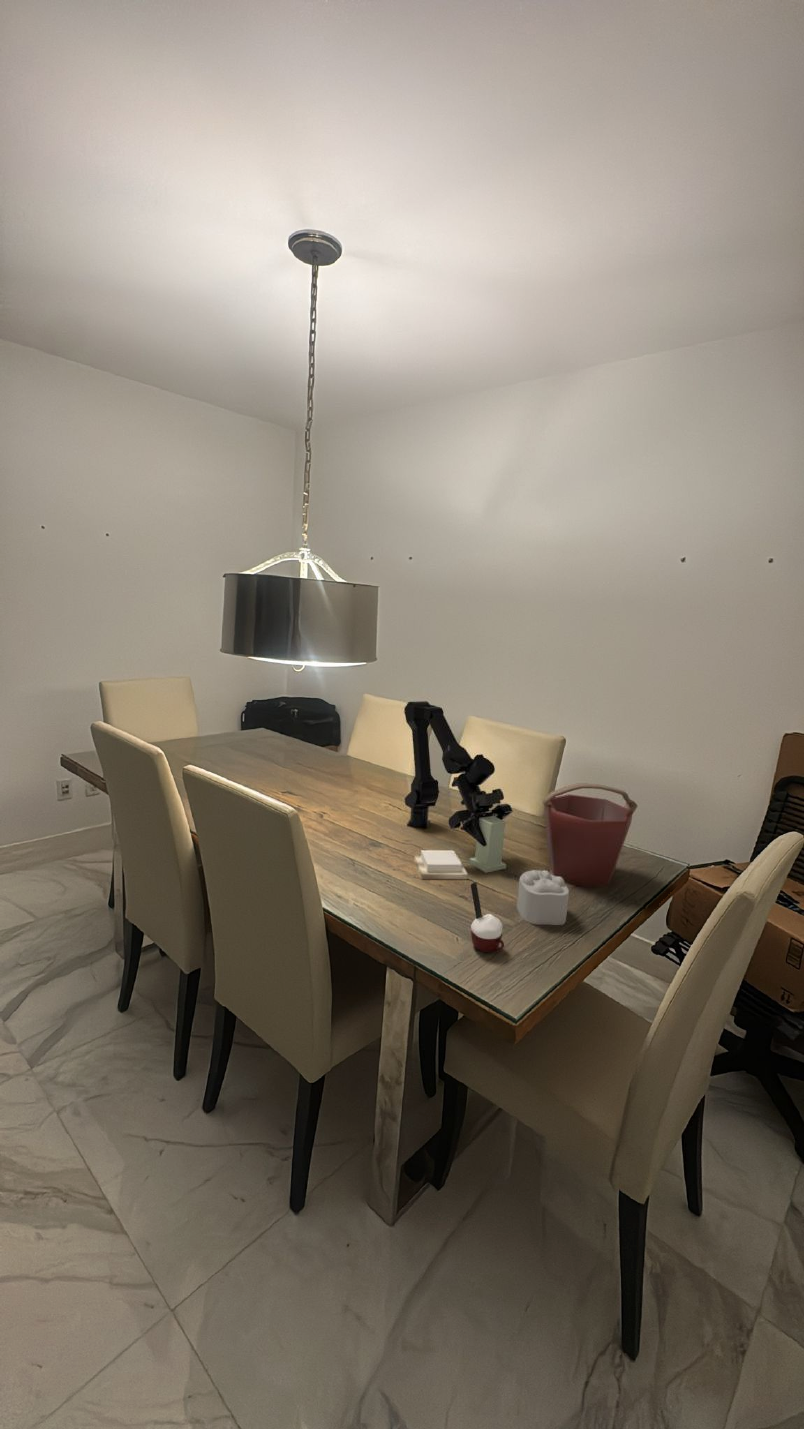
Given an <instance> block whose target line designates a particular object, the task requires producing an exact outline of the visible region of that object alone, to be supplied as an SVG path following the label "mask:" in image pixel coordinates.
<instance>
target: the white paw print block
mask: <svg viewBox="0 0 804 1429" xmlns="http://www.w3.org/2000/svg"><path fill="white" fill-rule="evenodd" d="M565 882H566V881H564V880H563V878H562V877H559V876H558V877H557V876H554V875H553V873H552V874H551V873H550V872H549V871H548V870H536V869H532V870H528V871H524V872H523V873H522V874H521V875H520V877H519V882H518V890H517V898H516V899H517V900H516V909H517V911H518V913H519V914H520V916H521V917H522V919H523V920H524V921H526V922H528V923H530V924H531V925H532V924H533V925H552V926H553V925H554V926H562V925H564V924H565V923H566V920H567V914H568V913H567V911H568V905H569V897H570V890H569V888H568V886H567V885H566V883H565Z"/></svg>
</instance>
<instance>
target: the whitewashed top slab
mask: <svg viewBox="0 0 804 1429" xmlns="http://www.w3.org/2000/svg"><path fill="white" fill-rule="evenodd" d="M420 855H421V859H422V862H423V864H424V866H425V868H426V871H427V872H461V866H462V865H463V863H462V862H461V863H462V864H461V863H460V861H461V860H460V858H459V856H458V855H457V854H456V852H455V851H454V850H439V849H438V850H433V849H432V850H431V849H430V850H427V849H425V850H423V849H421V851H420ZM456 855H457V856H458V857H457V856H456ZM458 858H459V859H458ZM459 860H460V861H459Z"/></svg>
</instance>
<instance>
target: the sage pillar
mask: <svg viewBox="0 0 804 1429" xmlns="http://www.w3.org/2000/svg"><path fill="white" fill-rule="evenodd" d="M479 826H480V829H481V831H482V834H483V836H484V838H485V841H486V846H485V847H483V846H482V845H481V844H480V843H479V842H478V841H477V840H476V844H475V845H476V846H475V853H474V854H475V855H474V857H471V858H469V863H470V864H471V865H472V866H474V867H476V868H478V869H479V870H480V871H483V872H484V873H491V872H496V871H500V870H505V869H506V868H507V864H506V863H505V862H504V861H502V856H503V849H504V838H505V830H506V821H504V820H500V819H498V818H496V817H494V816H490V817H483V818H479Z"/></svg>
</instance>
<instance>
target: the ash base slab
mask: <svg viewBox="0 0 804 1429" xmlns="http://www.w3.org/2000/svg"><path fill="white" fill-rule="evenodd" d="M456 856H457V857H458V859H459V861H460V863H461V864H462V866H461V872H427V871H426V868H425V866H424V864H423V862H422V859H421V854H420V855H419V854H416V855H415V854H414V856H413V860H414V863H415V865H416V869H417V872H418V873H419V877H420V878H421V880H468V879H469V878H468V876H469V875H468V872H467V870H466V869H465V866H464V865H463V863H462V862H461V859H460V858H459V855H457V854H456Z"/></svg>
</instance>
